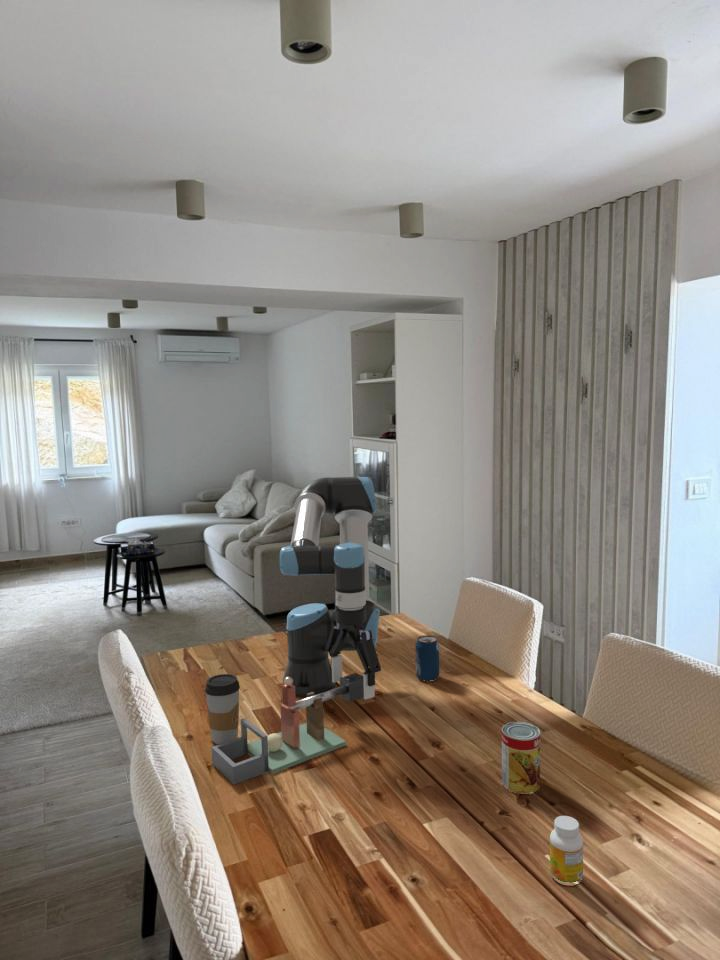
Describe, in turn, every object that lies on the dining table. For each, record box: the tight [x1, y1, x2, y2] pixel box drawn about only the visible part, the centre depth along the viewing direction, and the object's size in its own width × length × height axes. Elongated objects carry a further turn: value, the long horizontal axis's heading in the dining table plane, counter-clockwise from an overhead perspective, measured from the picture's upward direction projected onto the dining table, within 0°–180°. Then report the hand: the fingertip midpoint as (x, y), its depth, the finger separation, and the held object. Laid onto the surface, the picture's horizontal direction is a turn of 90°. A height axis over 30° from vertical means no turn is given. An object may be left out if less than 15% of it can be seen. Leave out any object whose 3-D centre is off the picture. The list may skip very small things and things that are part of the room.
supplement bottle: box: [549, 815, 584, 883], centre depth 113 cm, size 5×5×10 cm
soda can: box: [415, 635, 440, 681], centre depth 198 cm, size 7×7×12 cm
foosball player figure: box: [305, 692, 325, 740], centre depth 162 cm, size 2×5×11 cm, turn 37°
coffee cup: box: [204, 673, 241, 745], centre depth 164 cm, size 8×8×15 cm
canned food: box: [501, 721, 541, 794], centre depth 141 cm, size 8×8×12 cm
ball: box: [267, 733, 282, 752], centre depth 156 cm, size 4×4×4 cm
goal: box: [211, 717, 269, 786], centre depth 150 cm, size 8×11×8 cm
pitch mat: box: [247, 722, 347, 775], centre depth 159 cm, size 20×14×1 cm
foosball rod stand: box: [279, 672, 364, 749], centre depth 164 cm, size 22×6×16 cm, turn 127°
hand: (352, 689), depth 168 cm, fingers open, 13 cm apart
